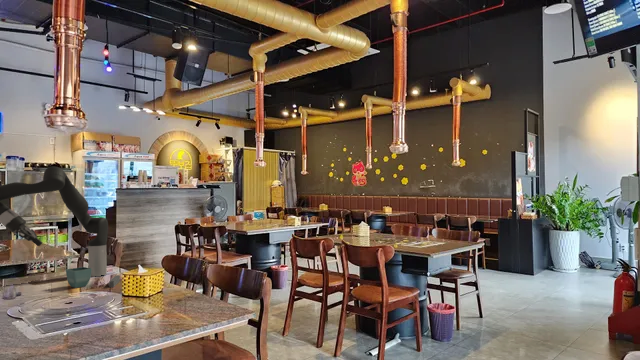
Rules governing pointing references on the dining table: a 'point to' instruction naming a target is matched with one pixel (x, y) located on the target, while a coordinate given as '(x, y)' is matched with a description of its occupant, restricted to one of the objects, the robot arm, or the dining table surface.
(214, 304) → the dining table surface
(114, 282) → the bumper bar
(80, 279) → the flower pot
